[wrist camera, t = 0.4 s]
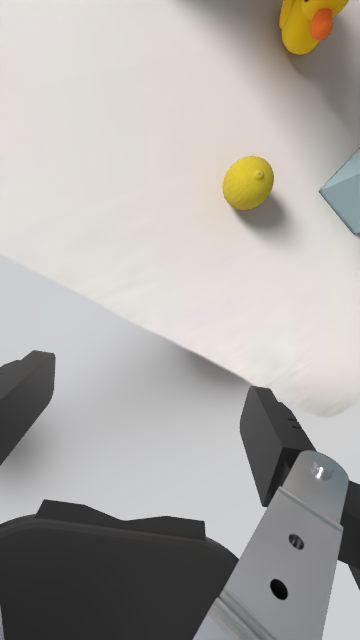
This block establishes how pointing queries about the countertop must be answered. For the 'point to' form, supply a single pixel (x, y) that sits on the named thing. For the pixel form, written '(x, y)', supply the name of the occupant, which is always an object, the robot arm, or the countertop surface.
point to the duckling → (307, 22)
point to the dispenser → (346, 192)
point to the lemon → (248, 183)
